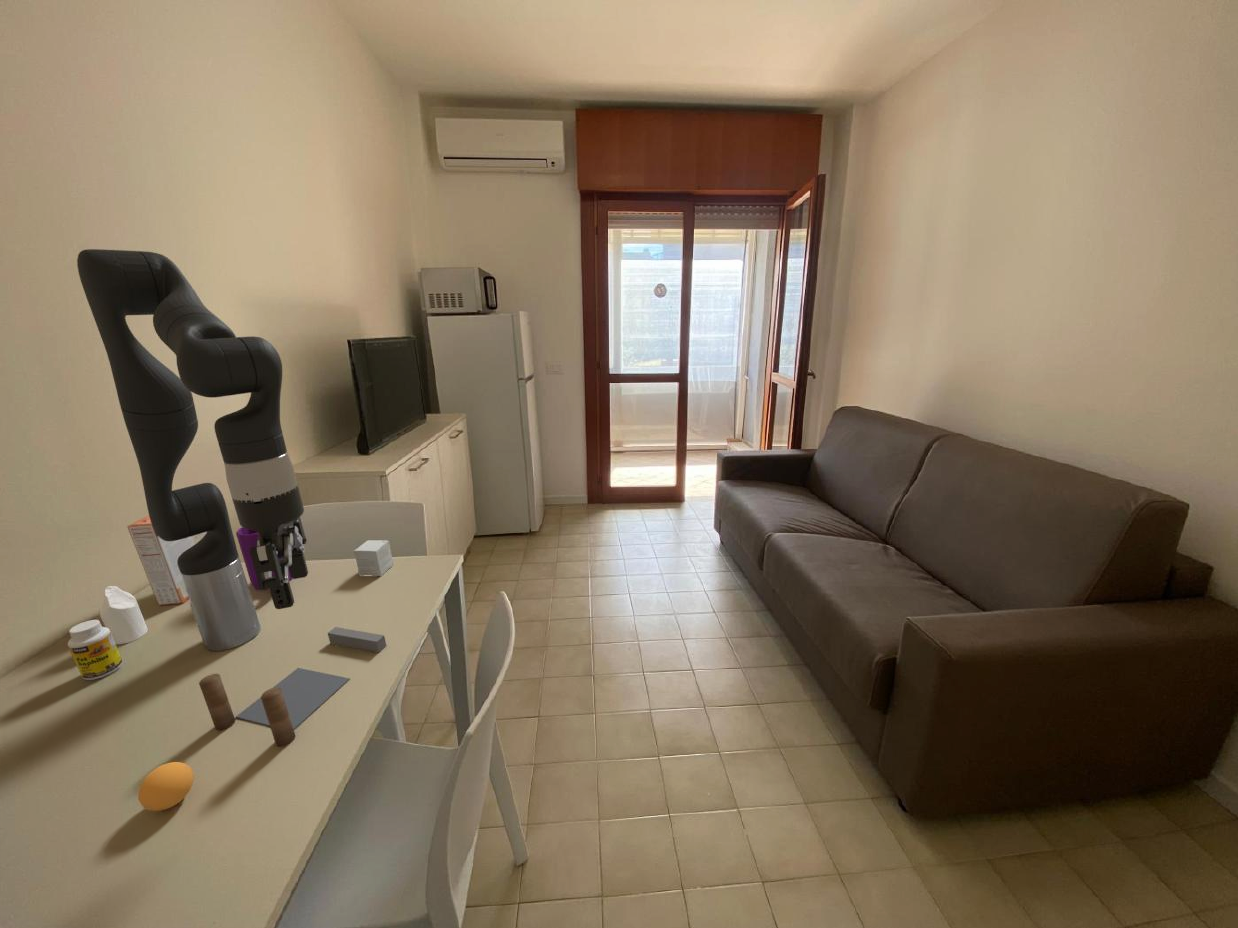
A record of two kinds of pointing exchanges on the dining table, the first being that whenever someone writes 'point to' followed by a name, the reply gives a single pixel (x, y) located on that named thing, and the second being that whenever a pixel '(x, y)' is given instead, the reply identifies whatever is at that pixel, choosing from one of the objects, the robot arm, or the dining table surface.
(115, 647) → the supplement bottle
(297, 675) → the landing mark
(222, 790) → the dining table surface
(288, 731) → the right post
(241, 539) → the mug
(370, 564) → the product box
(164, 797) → the ball
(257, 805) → the dining table surface
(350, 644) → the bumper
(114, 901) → the dining table surface
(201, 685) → the left post
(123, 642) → the white tapered piece
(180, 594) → the cracker box
